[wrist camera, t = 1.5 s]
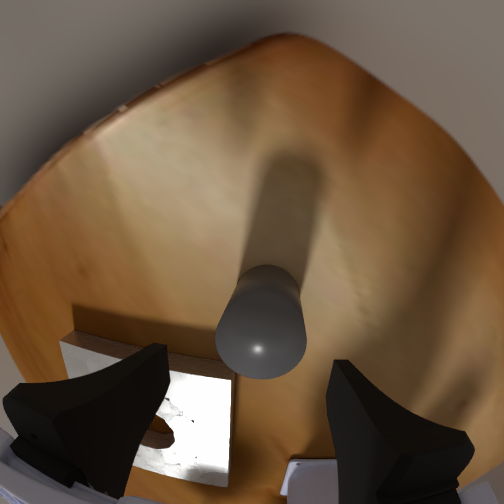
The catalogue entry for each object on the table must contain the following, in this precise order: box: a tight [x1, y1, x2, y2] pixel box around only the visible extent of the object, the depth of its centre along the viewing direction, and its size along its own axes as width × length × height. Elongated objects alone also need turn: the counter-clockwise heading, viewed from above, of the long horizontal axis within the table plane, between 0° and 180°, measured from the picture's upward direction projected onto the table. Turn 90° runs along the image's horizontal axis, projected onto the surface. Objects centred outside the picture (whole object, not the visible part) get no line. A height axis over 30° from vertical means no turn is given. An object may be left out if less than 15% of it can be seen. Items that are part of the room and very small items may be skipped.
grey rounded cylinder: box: [215, 265, 307, 379], centre depth 17 cm, size 5×5×7 cm
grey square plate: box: [59, 330, 235, 488], centre depth 23 cm, size 16×16×2 cm
